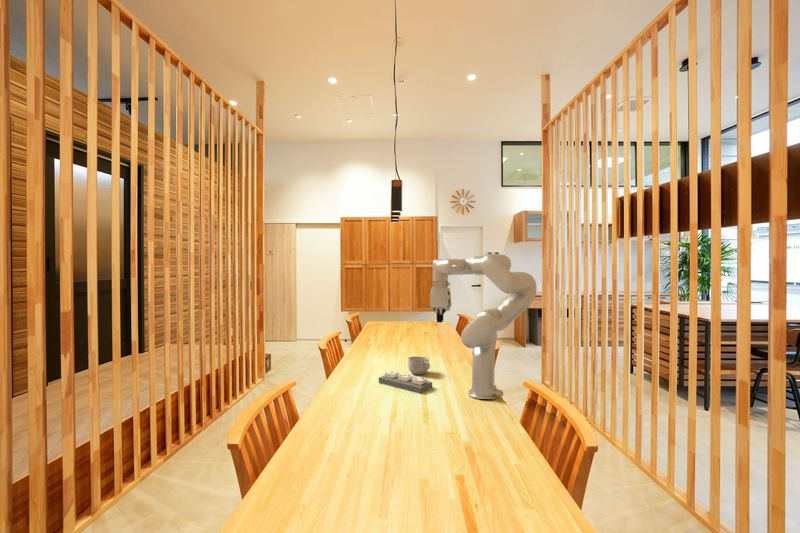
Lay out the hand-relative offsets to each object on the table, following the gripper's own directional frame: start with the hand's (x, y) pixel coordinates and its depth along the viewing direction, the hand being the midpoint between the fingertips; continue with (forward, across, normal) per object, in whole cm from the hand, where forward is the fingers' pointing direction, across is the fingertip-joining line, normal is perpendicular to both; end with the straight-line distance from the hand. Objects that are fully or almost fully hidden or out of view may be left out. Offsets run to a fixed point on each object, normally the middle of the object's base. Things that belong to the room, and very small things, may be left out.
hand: (439, 322), depth 181 cm
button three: (+29, +10, +15) cm, 34 cm away
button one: (+29, +18, +15) cm, 37 cm away
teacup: (+29, +14, -4) cm, 33 cm away
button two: (+29, +2, +15) cm, 32 cm away
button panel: (+29, +10, +15) cm, 34 cm away
